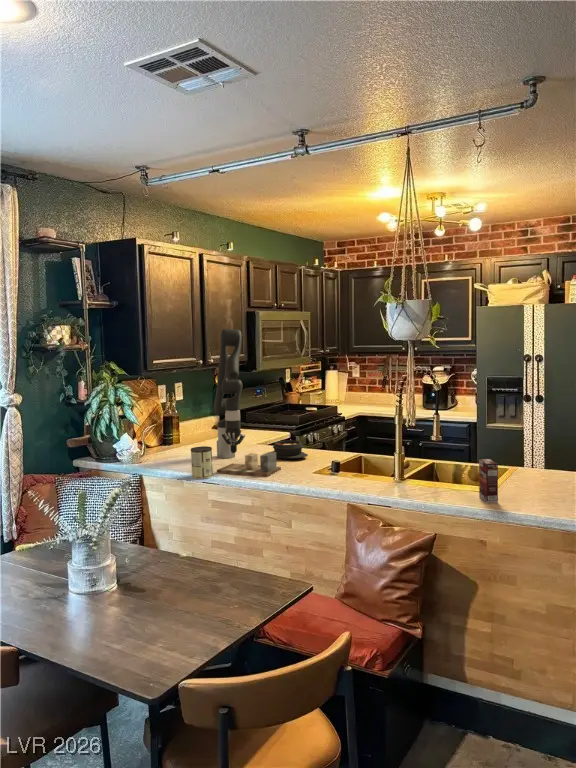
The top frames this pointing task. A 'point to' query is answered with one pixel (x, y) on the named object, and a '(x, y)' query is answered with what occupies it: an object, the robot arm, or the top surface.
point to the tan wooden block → (251, 461)
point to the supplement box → (488, 480)
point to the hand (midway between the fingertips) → (233, 452)
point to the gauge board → (263, 469)
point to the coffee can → (201, 462)
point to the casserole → (288, 449)
